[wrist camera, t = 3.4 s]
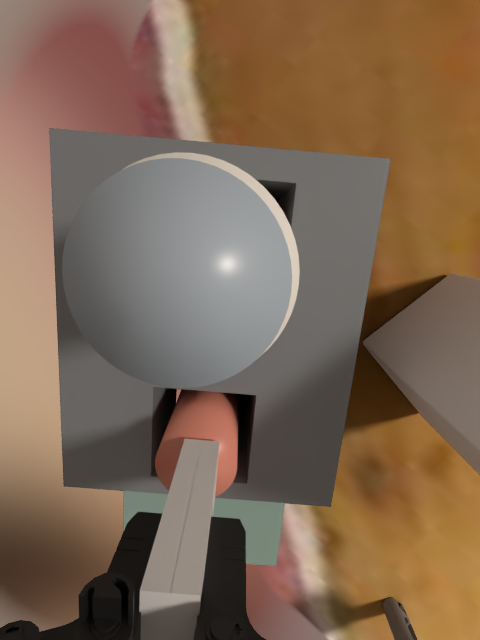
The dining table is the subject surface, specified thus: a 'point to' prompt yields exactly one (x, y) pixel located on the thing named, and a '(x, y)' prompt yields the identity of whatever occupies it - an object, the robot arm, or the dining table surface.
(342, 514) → the dining table surface
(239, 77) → the dining table surface
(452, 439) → the milk carton
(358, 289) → the housing
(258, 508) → the mat
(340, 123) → the dining table surface
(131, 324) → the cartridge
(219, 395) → the pink egg shape
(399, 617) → the mechanical component
